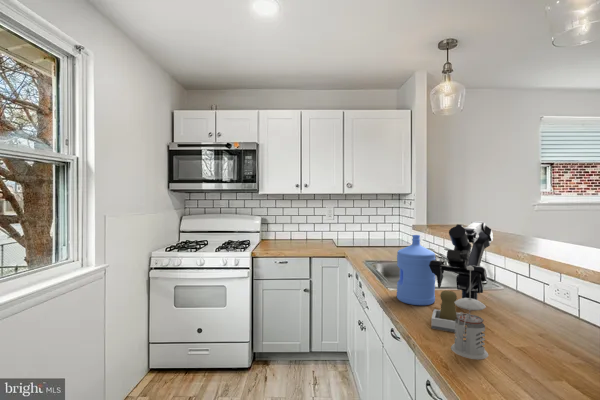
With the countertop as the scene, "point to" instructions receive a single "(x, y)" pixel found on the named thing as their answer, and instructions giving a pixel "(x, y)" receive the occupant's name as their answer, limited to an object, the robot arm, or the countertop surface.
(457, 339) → the french press
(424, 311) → the countertop surface
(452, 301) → the cork
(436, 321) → the grey square open box
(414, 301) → the water jug
